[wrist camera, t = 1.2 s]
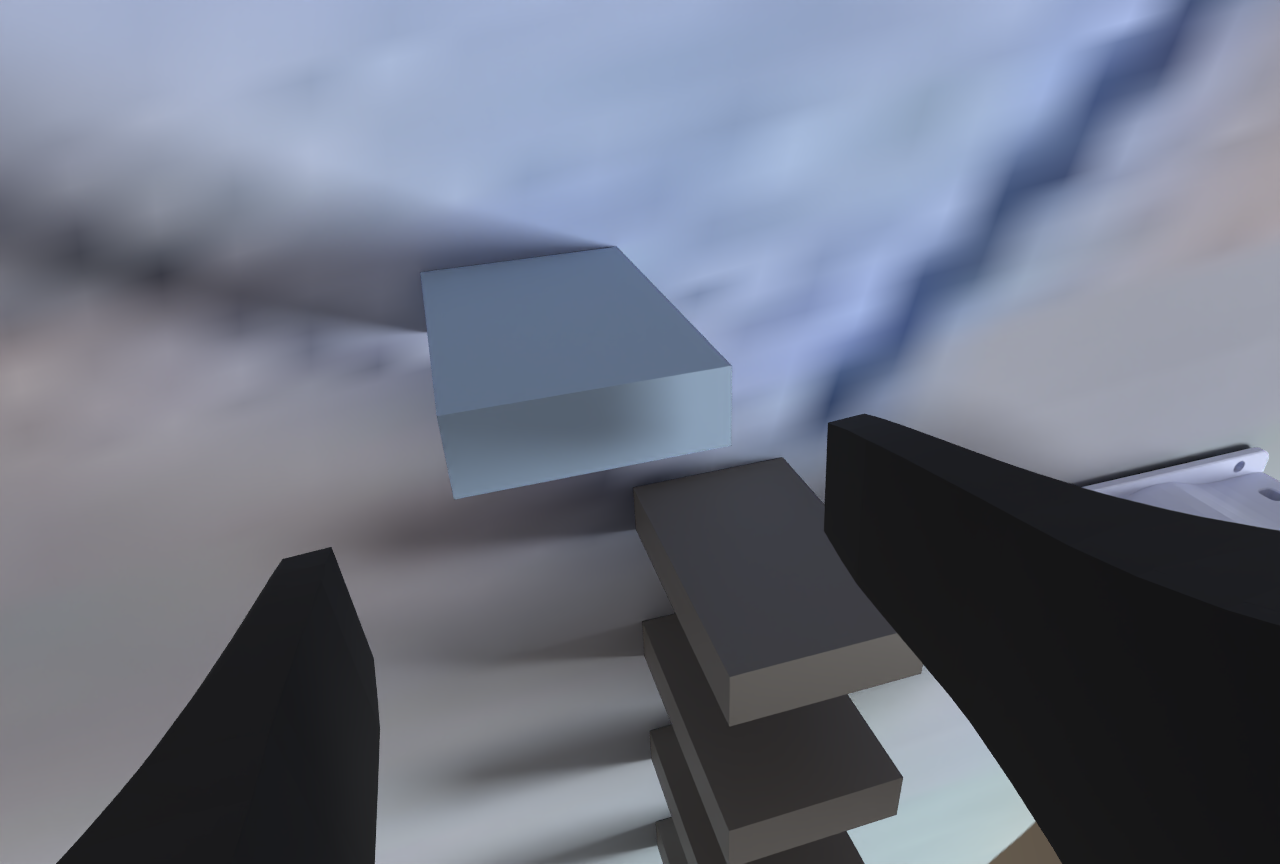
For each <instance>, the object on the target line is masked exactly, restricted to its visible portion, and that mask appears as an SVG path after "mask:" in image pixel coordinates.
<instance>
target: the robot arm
mask: <svg viewBox="0 0 1280 864" xmlns="http://www.w3.org/2000/svg"><path fill="white" fill-rule="evenodd" d="M1268 458H1269V455H1268V452H1267V451H1265V450H1263V449H1261V448H1259V447H1254V448H1249V449H1245V450H1241V451H1236V452H1232V453H1228V454H1223V455H1219V456H1215V457H1210V458H1206V459H1202V460H1197V461H1193V462H1189V463H1184V464H1180V465H1176V466H1171V467H1167V468H1163V469H1158V470H1154V471H1150V472H1145V473H1141V474H1137V475H1132V476H1128V477H1124V478H1119V479H1115V480H1111V481H1106V482H1102V483H1098V484H1093V485H1089V486H1085V487H1079V486H1076V485H1072V484H1069V483H1066V482H1063V481H1060V480H1056V479H1053V478H1050V477H1047V476H1043V475H1040V474H1037V473H1034V472H1031V471H1028V470H1025V469H1022V468H1019V467H1016V466H1013V465H1010V464H1007V463H1005V462H1002V461H999V460H996V459H993V458H990V457H988V456H985V455H982V454H979V453H976V452H974V451H971V450H968V449H965V448H963V447H960V446H957V445H955V444H952V443H949V442H946V441H944V440H941V439H938V438H936V437H933V436H930V435H928V434H925V433H922V432H919V431H917V430H914V429H911V428H908V427H905V426H903V425H900V424H897V423H894V422H891V421H888V420H885V419H882V418H878V417H875V416H871V415H867V414H861V415H857V416H853V417H849V418H845V419H841V420H837V421H833V422H829V423H828V436H827V461H826V487H825V513H824V532H825V534H826V535H827V537H828V539H829V541H830V542H831V544H832V546H833V547H834V549H835V551H836V552H837V554H838V556H839V557H840V559H841V561H842V562H843V564H844V565H845V567H846V568H847V570H848V571H849V573H850V575H851V576H852V578H853V579H854V581H855V582H856V584H857V585H858V586H859V588H860V589H861V590H862V591H863V593H864V594H865V595H866V596H867V598H868V599H869V600H870V601H871V602H872V604H873V605H874V606H875V607H876V608H877V610H878V611H879V612H880V613H881V614H882V616H883V617H884V618H885V619H886V621H887V622H888V623H889V624H890V625H891V627H892V628H893V629H894V630H895V631H896V632H897V634H898V635H899V636H900V637H901V638H902V640H903V641H904V642H905V643H906V644H907V646H908V647H909V648H910V649H911V650H912V651H913V653H914V654H915V655H916V656H917V657H918V659H919V660H920V661H921V662H922V663H923V665H924V666H925V667H926V668H927V669H928V671H929V672H930V673H931V674H932V675H933V676H934V678H935V679H936V680H937V681H938V682H939V684H940V685H941V686H942V687H943V688H944V690H945V691H946V692H947V693H948V694H949V695H950V697H951V698H952V699H953V701H954V702H955V703H956V705H957V706H958V707H959V708H960V710H961V711H962V712H963V714H964V715H965V716H966V717H967V719H968V720H969V721H970V723H971V724H972V726H973V727H974V729H975V730H976V731H977V733H978V734H979V736H980V737H981V739H982V740H983V742H984V743H985V745H986V746H987V748H988V749H989V751H990V752H991V754H992V755H993V757H994V758H995V759H996V761H997V762H998V764H999V765H1000V767H1001V768H1002V770H1003V771H1004V773H1005V774H1006V776H1007V777H1008V779H1009V780H1010V782H1011V783H1012V785H1013V786H1014V788H1015V789H1016V791H1017V792H1018V794H1019V796H1020V797H1021V799H1022V800H1023V802H1024V803H1025V805H1026V807H1027V808H1028V810H1029V811H1030V813H1031V814H1032V816H1033V817H1034V819H1035V821H1036V822H1037V824H1038V825H1039V827H1040V828H1041V830H1042V831H1043V833H1044V835H1045V836H1046V838H1047V839H1048V841H1049V842H1050V844H1051V846H1052V847H1053V849H1054V851H1055V852H1056V854H1057V856H1058V857H1059V859H1060V861H1061V862H1062V864H1280V481H1278V480H1277V479H1275V478H1273V477H1271V476H1269V475H1267V474H1265V473H1263V471H1264V469H1265V466H1266V464H1267V461H1268ZM379 739H380V723H379V711H378V698H377V688H376V677H375V667H374V658H373V655H372V653H371V650H370V647H369V645H368V642H367V639H366V637H365V634H364V632H363V629H362V626H361V624H360V621H359V618H358V616H357V613H356V611H355V608H354V605H353V603H352V600H351V597H350V595H349V592H348V589H347V587H346V584H345V582H344V579H343V576H342V574H341V571H340V568H339V566H338V563H337V560H336V558H335V555H334V553H333V550H332V547H329V548H325V549H321V550H317V551H313V552H309V553H305V554H301V555H297V556H293V557H289V558H285V559H282V561H281V562H280V564H279V565H278V567H277V568H276V570H275V571H274V573H273V574H272V576H271V577H270V579H269V580H268V582H267V584H266V585H265V587H264V588H263V590H262V592H261V593H260V595H259V596H258V598H257V600H256V601H255V603H254V605H253V606H252V608H251V609H250V611H249V613H248V614H247V616H246V617H245V619H244V620H243V622H242V624H241V625H240V627H239V628H238V630H237V632H236V633H235V635H234V636H233V638H232V639H231V641H230V642H229V644H228V645H227V647H226V648H225V650H224V651H223V653H222V654H221V656H220V657H219V659H218V660H217V662H216V663H215V665H214V666H213V668H212V669H211V671H210V672H209V674H208V675H207V677H206V678H205V680H204V681H203V683H202V684H201V686H200V687H199V689H198V690H197V692H196V693H195V695H194V696H193V697H192V699H191V700H190V702H189V703H188V704H187V706H186V707H185V708H184V710H183V711H182V712H181V714H180V715H179V717H178V718H177V719H176V721H175V722H174V723H173V725H172V726H171V727H170V729H169V730H168V731H167V733H166V734H165V735H164V737H163V738H162V740H161V741H160V742H159V744H158V745H157V746H156V748H155V749H154V750H153V752H152V753H151V754H150V756H149V757H148V758H147V759H146V761H145V762H144V763H143V764H142V766H141V767H140V768H139V769H138V771H137V772H136V773H135V774H134V776H133V777H132V778H131V779H130V780H129V782H128V783H127V784H126V785H125V786H124V788H123V789H122V790H121V791H120V792H119V794H118V795H117V796H116V797H115V798H114V799H113V801H112V802H111V803H110V804H109V805H108V806H107V807H106V809H105V810H104V811H103V812H102V813H101V814H100V815H99V817H98V818H97V819H96V820H95V821H94V822H93V824H92V825H91V826H90V827H89V828H88V829H87V830H86V832H85V833H84V834H83V835H82V836H81V837H80V838H79V839H78V841H77V842H76V843H75V844H74V845H73V846H72V847H71V848H70V849H69V850H68V852H67V853H66V854H65V855H64V856H63V857H62V858H61V859H60V860H59V861H58V862H57V863H56V864H375V844H376V820H377V795H378V769H379Z"/></svg>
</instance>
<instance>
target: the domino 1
mask: <svg viewBox="0 0 1280 864" xmlns="http://www.w3.org/2000/svg"><path fill="white" fill-rule="evenodd" d="M420 274H421V282H422V291H423V300H424V308H425V317H426V326H427V335H428V343H429V352H430V361H431V369H432V378H433V387H434V396H435V404H436V413H437V419H438V424H439V429H440V434H441V439H442V444H443V448H444V453H445V458H446V463H447V468H448V473H449V478H450V482H451V487H452V492H453V497H454V499H459V498H465V497H470V496H475V495H480V494H485V493H490V492H495V491H501V490H506V489H511V488H516V487H521V486H526V485H532V484H537V483H542V482H547V481H552V480H557V479H562V478H568V477H573V476H578V475H583V474H588V473H593V472H598V471H604V470H609V469H614V468H619V467H624V466H629V465H635V464H640V463H645V462H650V461H655V460H660V459H665V458H671V457H676V456H681V455H686V454H691V453H696V452H701V451H707V450H712V449H717V448H722V447H727V446H731V420H732V365H731V364H730V363H729V362H728V361H727V360H726V359H725V358H724V357H723V356H722V355H721V354H720V353H719V352H718V351H717V350H716V349H715V348H714V347H713V346H712V345H711V344H710V343H709V342H708V340H707V339H706V338H705V337H704V336H703V335H702V334H701V333H700V332H699V331H698V330H697V329H696V328H695V327H694V326H693V325H692V324H691V323H690V322H689V321H688V320H687V319H686V318H685V317H684V316H683V315H682V314H681V313H680V311H679V310H678V309H677V308H676V307H675V306H674V305H673V304H672V303H671V302H670V301H669V300H668V299H667V298H666V297H665V296H664V295H663V294H662V293H661V292H660V291H659V290H658V289H657V288H656V287H655V286H654V285H653V284H652V282H651V281H650V280H649V279H648V278H647V277H646V276H645V275H644V274H643V273H642V272H641V271H640V270H639V269H638V268H637V267H636V266H635V265H634V264H633V263H632V262H631V261H630V260H629V259H628V258H627V257H626V256H625V255H624V254H623V252H622V251H621V250H620V249H619V248H618V247H610V248H602V249H595V250H587V251H579V252H572V253H564V254H556V255H549V256H541V257H533V258H526V259H518V260H511V261H503V262H495V263H488V264H480V265H472V266H465V267H457V268H449V269H442V270H434V271H426V272H420Z"/></svg>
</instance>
